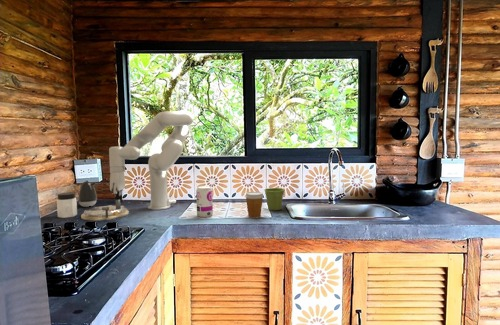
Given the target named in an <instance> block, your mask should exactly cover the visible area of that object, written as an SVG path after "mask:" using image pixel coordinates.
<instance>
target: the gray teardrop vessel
mask: <svg viewBox="0 0 500 325" xmlns="http://www.w3.org/2000/svg"><path fill="white" fill-rule="evenodd" d="M96 184H97V183H96V182H91V181H88V180H87V181H84V182H82V183H81V184H80V188H79V191H78V196H77V197H78V198H77V202H78V203H79V205H80V206H81V207H82V208H90V207H89V206H91V207H94V206H95V204H96V203H97V200H98V196H97V191H96V188H95V187H94V186H95V185H96Z"/></svg>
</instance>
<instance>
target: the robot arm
mask: <svg viewBox="0 0 500 325" xmlns="http://www.w3.org/2000/svg"><path fill="white" fill-rule="evenodd" d="M194 120H195V119H194V115H193V114H192V112H190V111H188V110H179V111H178V110H177V111H176V110H175V111H173V110H172V111H170V110H166V111H161V112H160V111H159V112H158V113H157V114H156V115H155V116H154V117H153V118H152V119H151V120H149V122H148V123H147V124H146V125H145V126H144V127H143V128H142V129H141V130H140V131H139V132H138V133H137V134H135V135H134V136H133V137H132V138H131V139H130V140H129V141H128V142H127V143H125V145H124V146H110V147H109V149H108V154H109V173H110V175H109V176H110V177H109V191H110V192H113V194H114V199H115V204H116V200H118V199H120V203H121V204H122V203H123V192H124V189H125V188H126V177H125V172H126V164H125V162H126V161H125V160H131V161H132V160H133V161H134V160H137V159H139V157H140V156H141V149H142V148H144V146H146V145H148V144H149V143H152V142H153V141H154V140H155V139H157V138H158V136H159V135H160V134H161V133H162V132H163V131H164V130H165V129H166V128H167V127H174V128H173V131H171V134H169V136H168V137H167V138H166V140H165V141H164V142H163V143H162V144H161V152H160V153H153V154H152V155H151V156H150V157H149V158H148V162H147V164H148V165H147V166H148V171H149V188H150V189H149V191H150V205H148V206H147V208H148V209H149V210H154V211H155V210H157V211H158V210H165V209H166V210H167V209H169V208H171V206H172V205H171V204H176V203H177V200H176V199H169V197H168V174H167V171H168V170H170V169H171V168H172V166H173V165H174V164H175V163H176V161H177V160H178V159H179V157H181V155H182V153H183V150H184V144H183V143H184V142H185V141H186V139H187V137H188V134H189V126H191V125H192V124H193V123H194Z"/></svg>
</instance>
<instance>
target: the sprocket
mask: <svg viewBox="0 0 500 325" xmlns="http://www.w3.org/2000/svg"><path fill="white" fill-rule="evenodd" d="M121 204H122V203H120V199H118V200H116V203H115V205H112V204H110V205H104V206H102V205H101V206H92V208H89V209H84V210H83V213H84V214H85V215H86V216H87V217H88V216H95V217H103V216H106V212H105V210H106V209H108V216H110V215H119V213H122V212H126V209H127V208H126V207H125V206H124V205H121Z"/></svg>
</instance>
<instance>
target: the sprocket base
mask: <svg viewBox="0 0 500 325" xmlns="http://www.w3.org/2000/svg"><path fill="white" fill-rule="evenodd" d="M105 212H106V216H103V217H95V216H88V217H87V216H86V215H85V214H84V212H83V213H82V214H80V217H81V219H82V220H83V221H87V222H88V221H91V222H98V221H99V222H101V221H110V220H115V219H121V218H124V217H126V216H128V215H129V214H130V213H129V212H130V211H129V209H128V208H126V212H122V213H119V215H110V216H108V209H106V210H105Z"/></svg>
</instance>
